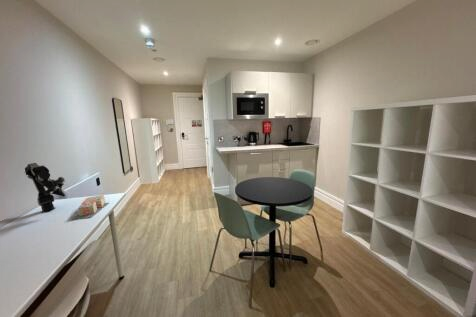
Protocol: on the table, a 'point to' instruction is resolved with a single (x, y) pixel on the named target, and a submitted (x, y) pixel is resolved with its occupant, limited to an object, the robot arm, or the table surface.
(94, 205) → the stack of blocks
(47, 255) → the table surface
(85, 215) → the mat
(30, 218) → the table surface
